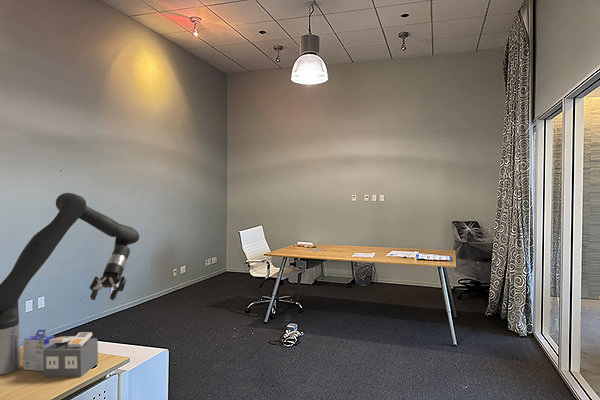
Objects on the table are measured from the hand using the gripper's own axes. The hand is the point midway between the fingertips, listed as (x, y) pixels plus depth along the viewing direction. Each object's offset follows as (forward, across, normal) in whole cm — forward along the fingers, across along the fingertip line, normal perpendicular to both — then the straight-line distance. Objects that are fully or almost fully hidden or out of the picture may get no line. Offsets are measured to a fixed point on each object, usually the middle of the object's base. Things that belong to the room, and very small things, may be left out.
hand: (102, 299), depth 168 cm
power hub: (+28, -3, +4) cm, 28 cm away
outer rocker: (+19, 0, -3) cm, 19 cm away
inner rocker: (+19, -7, -4) cm, 21 cm away
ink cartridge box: (+27, -18, +5) cm, 33 cm away
